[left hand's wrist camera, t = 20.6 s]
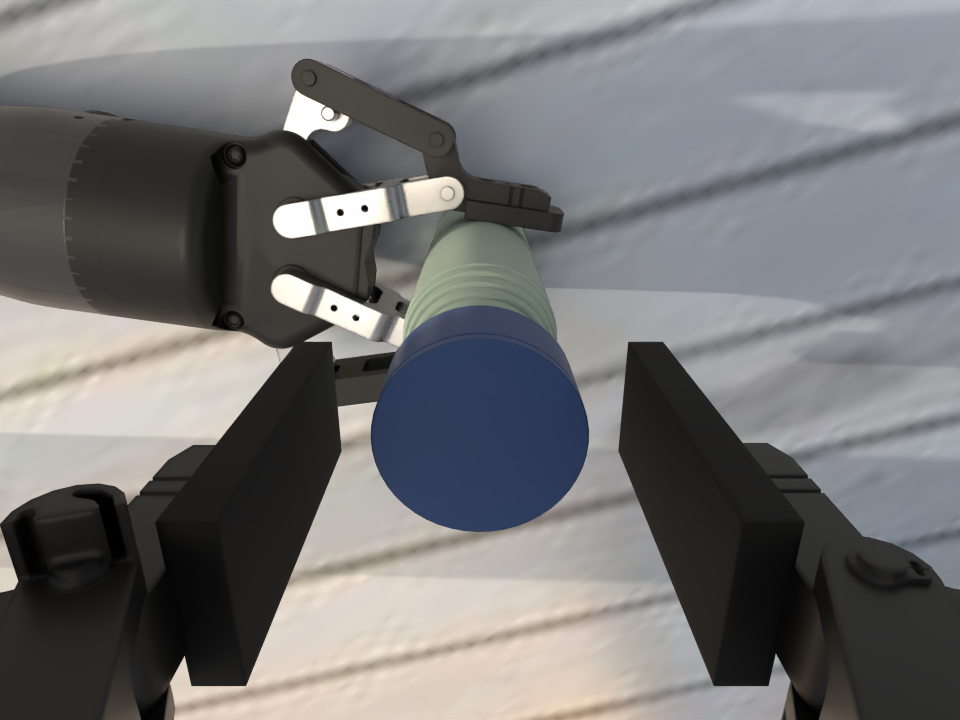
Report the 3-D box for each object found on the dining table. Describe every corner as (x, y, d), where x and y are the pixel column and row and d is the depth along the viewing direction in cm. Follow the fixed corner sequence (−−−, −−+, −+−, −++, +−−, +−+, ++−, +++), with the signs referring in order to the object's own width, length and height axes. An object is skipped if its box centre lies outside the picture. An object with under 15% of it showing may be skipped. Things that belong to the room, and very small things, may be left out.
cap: (476, 505, 16) (476, 567, 14) (347, 390, 15) (324, 438, 12) (611, 396, 15) (633, 444, 12) (482, 263, 13) (483, 292, 11)
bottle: (537, 266, 32) (614, 475, 14) (456, 299, 32) (426, 539, 14) (504, 182, 30) (542, 290, 12) (420, 218, 31) (335, 371, 13)
